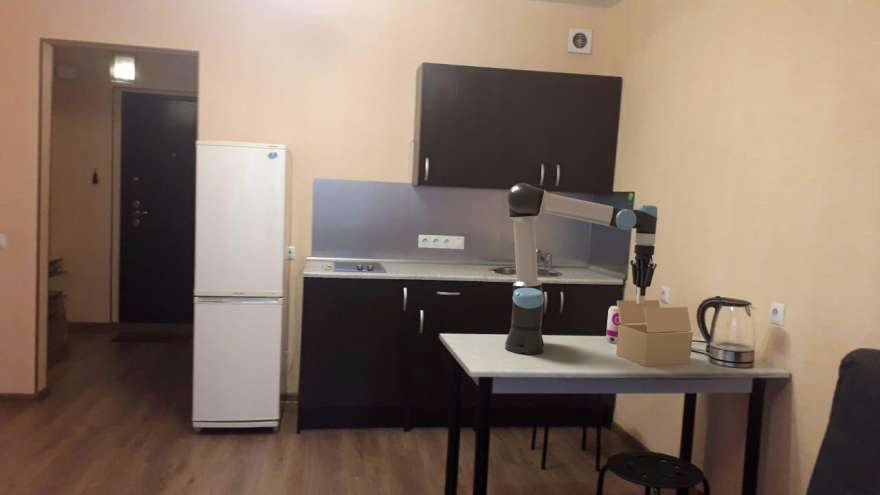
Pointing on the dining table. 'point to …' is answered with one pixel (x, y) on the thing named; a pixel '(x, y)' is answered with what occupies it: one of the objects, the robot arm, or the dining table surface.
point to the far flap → (634, 310)
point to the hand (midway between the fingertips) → (639, 303)
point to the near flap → (667, 319)
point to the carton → (653, 346)
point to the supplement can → (613, 325)
